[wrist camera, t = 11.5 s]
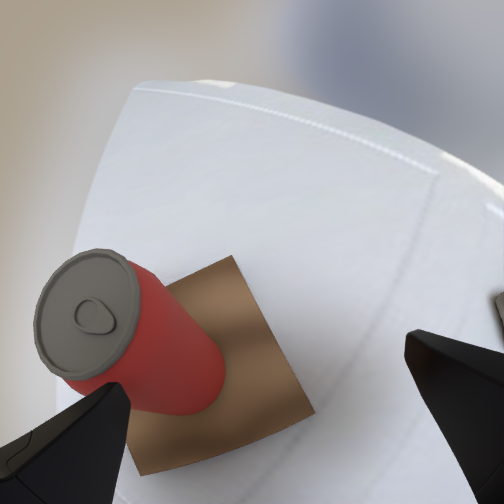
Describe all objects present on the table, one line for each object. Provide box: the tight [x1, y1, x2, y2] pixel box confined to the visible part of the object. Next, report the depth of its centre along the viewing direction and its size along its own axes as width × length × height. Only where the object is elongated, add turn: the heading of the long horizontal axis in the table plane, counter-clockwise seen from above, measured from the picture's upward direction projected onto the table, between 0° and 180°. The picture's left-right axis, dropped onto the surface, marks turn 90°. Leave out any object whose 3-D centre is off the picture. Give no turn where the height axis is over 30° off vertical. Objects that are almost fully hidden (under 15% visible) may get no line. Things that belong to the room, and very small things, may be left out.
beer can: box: [33, 248, 226, 416], centre depth 14 cm, size 7×7×12 cm
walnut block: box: [126, 255, 315, 476], centre depth 20 cm, size 14×14×2 cm
